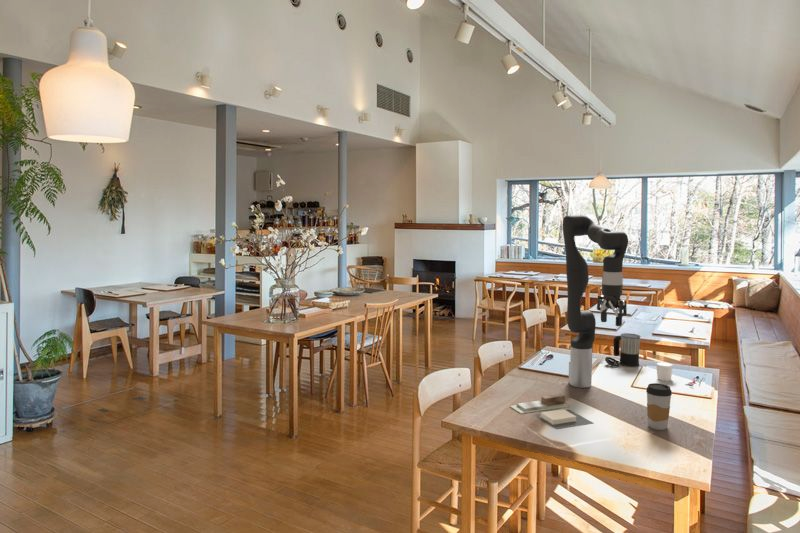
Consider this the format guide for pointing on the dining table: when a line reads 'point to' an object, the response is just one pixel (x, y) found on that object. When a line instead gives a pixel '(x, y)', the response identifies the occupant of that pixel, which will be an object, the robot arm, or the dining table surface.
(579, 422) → the mat
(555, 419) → the tile
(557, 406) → the board
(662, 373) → the white cup
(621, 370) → the dining table surface
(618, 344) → the milk frother
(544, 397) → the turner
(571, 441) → the dining table surface
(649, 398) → the coffee cup
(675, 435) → the dining table surface
